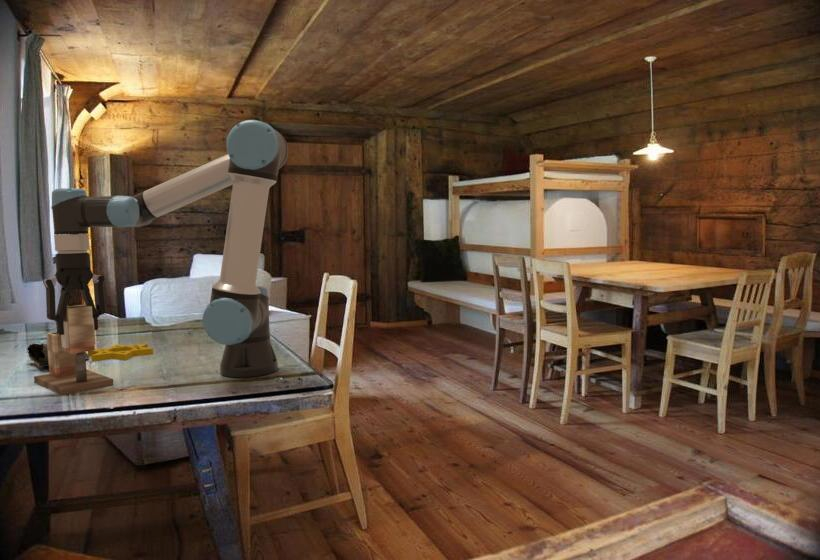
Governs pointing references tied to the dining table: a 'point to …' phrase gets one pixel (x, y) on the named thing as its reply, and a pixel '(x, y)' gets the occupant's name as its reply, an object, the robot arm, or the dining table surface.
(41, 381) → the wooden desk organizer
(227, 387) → the dining table surface
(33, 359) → the rock
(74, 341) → the sleeve
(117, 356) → the star of david
